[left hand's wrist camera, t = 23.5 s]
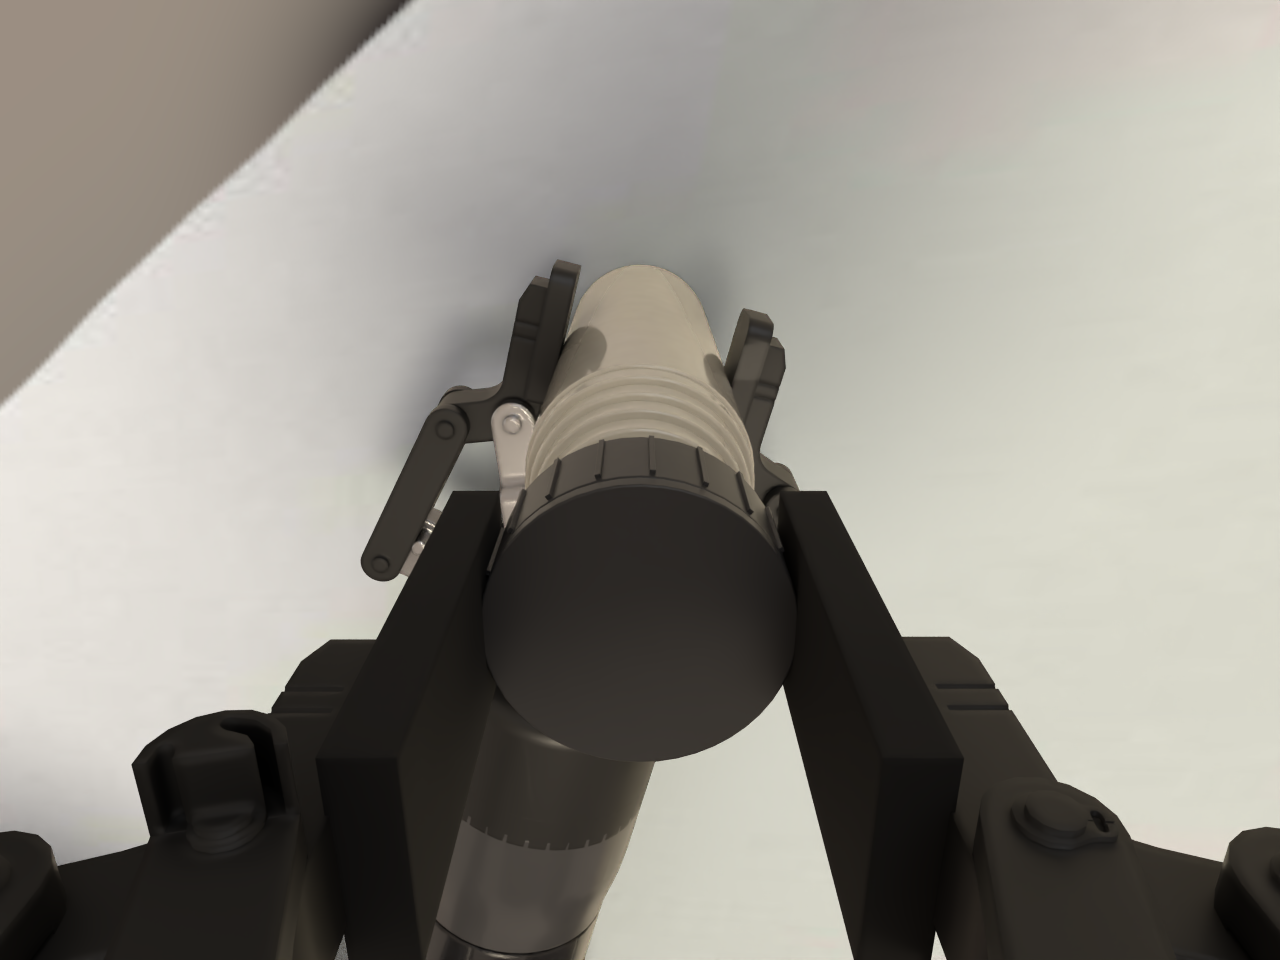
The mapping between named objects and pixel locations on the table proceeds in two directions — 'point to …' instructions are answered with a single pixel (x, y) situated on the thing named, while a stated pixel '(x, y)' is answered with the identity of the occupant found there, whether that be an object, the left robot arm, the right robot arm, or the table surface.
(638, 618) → the cap
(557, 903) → the right robot arm
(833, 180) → the table surface
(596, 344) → the bottle
